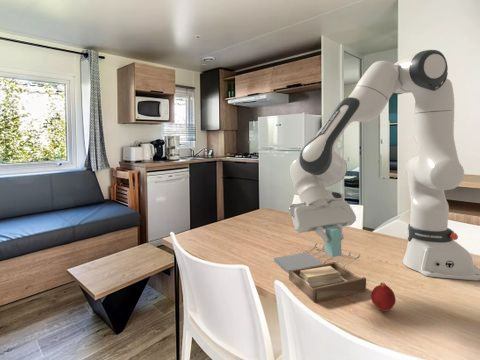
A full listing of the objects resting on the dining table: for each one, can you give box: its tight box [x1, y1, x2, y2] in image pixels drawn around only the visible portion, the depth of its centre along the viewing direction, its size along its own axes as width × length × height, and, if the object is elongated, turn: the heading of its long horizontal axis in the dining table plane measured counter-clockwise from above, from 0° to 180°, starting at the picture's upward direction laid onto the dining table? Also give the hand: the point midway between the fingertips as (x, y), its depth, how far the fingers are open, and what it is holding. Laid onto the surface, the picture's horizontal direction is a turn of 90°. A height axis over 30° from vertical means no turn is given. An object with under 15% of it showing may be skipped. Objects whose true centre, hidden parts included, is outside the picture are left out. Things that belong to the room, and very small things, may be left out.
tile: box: [273, 251, 324, 275], centre depth 109 cm, size 14×14×1 cm
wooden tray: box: [288, 261, 367, 303], centre depth 95 cm, size 15×18×4 cm
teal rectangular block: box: [324, 226, 342, 258], centre depth 89 cm, size 4×3×8 cm
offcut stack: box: [299, 266, 344, 288], centre depth 98 cm, size 6×13×3 cm, turn 109°
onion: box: [370, 282, 397, 312], centre depth 80 cm, size 6×6×8 cm
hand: (334, 240), depth 89 cm, fingers closed on teal rectangular block, 3 cm apart
